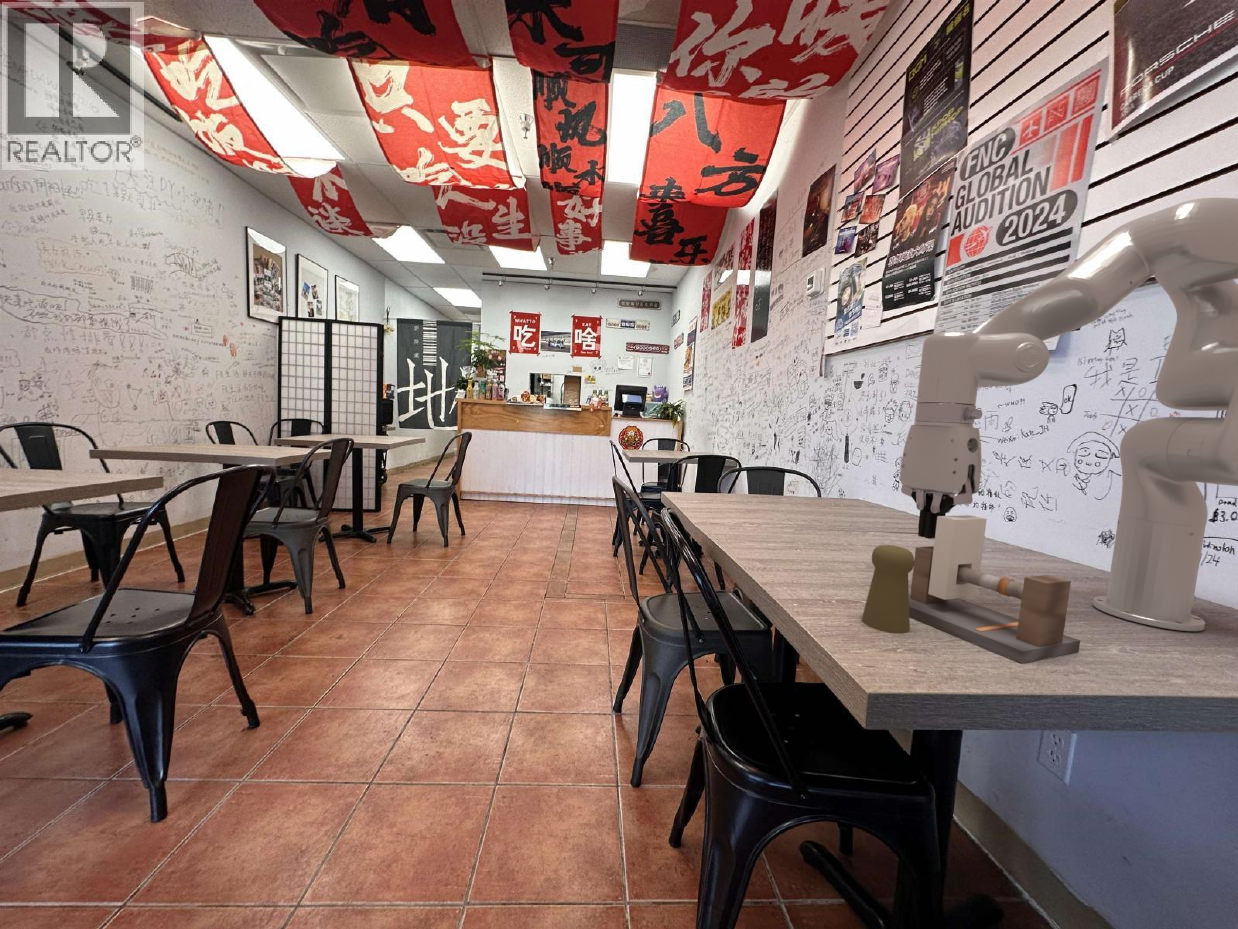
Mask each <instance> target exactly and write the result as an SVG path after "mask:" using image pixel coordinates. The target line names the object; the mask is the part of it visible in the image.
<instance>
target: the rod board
mask: <svg viewBox="0 0 1238 929" xmlns="http://www.w3.org/2000/svg"><path fill="white" fill-rule="evenodd" d="M914 550H915V553H914V566H913V569H912V577H911V588H910V593H909V618H911V619H913V620H915V619H916V621H918V622H920V623H923V624H925V625H927V626H931V627H932V626H933V627H932V628H935V629H937V630H940V631H942V630H943V632H945V633H947V634H949V633H950V634H949V635H952V636H954V637H956V638H959V637H960V638H959V639H961V640H963V641H966V640H967V641H966V642H968V641H969V643H971V644H973V643H975V644H974V645H976V644H977V645H976V646H978V647H981V648H982V649H985V650H987V651H989V652H993V653H995V654H998V655H1001V656H1002V655H1003V656H1002V657H1005V658H1007V657H1009V658H1010V659H1009V658H1008V659H1009V660H1012V661H1013V662H1017V661H1018V662H1017V663H1019V662H1020V663H1019V664H1025V662H1026V663H1031V662H1036V661H1040V660H1045V658H1046V659H1049V657H1051V658H1054V657H1059V655H1060V656H1065V655H1068V654H1074V653H1079V652H1080V647H1081V639H1078V638H1075V637H1072V636H1068V635H1066V634H1064V633H1065V626H1066V621H1067V620H1066V619H1067V612H1068V604H1069V599H1070V598H1069V597H1070V591H1071V583H1072V580H1069V579H1066V578H1062V577H1058V576H1054V575H1050V574H1042V575H1035V576H1034V575H1033V576H1025V577H1024V579H1023V583H1021V582H1017V581H1016V580H1014V579H1012V578H1008V577H1005V576H1003V577H1000V576H996V575H993V574H991V573H986V572H982V571H981V570H980V571H976V570H973V569H969V568H966V567H963V566H959V565H958V571H957V579H958V580H961V581H964V582H967V583H970V584H974V585H977V586H978V587H979V588H984V589H987V590H991V591H993V592H995V593H996V592H997V593H998V594H1000V595H1002V596H1006V597H1010V598H1011V597H1013V598H1016V599H1019V600H1021V602H1020V607H1019V608H1020V609H1019V616H1018V618H1016V617H1014V616H1011V615H1008V614H1005V613H1003V612H1000V611H997V610H994V609H990V608H988V607H984V606H982V605H980V604H977V603H973V602H970V601H967V600H964V599H963V598H956V599H947V600H944V599H941V598H938V597H935V596H933V595H930V594H928V592H929V583H930V575H931V567H932V558H933V550H934V545H933V546H931V545H930V546H917V547H915V549H914ZM1029 661H1030V662H1029Z"/></svg>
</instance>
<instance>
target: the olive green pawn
mask: <svg viewBox="0 0 1238 929" xmlns="http://www.w3.org/2000/svg"><path fill="white" fill-rule="evenodd" d="M914 559H915V555H913V553H912V551H911V550H909V549H907V548H905V547H902V546H897V545H890V544H881V545H878V546H876V547H875V548H874V549H873V551H872V553H871V563H872V565H873V567H874V571H873V575H872V578H871V582H870V586H869V590H868V594H867V597H866V601H865V605H864V608H863V613H862V617H861V621H862V623H863V624H865V625H866V626H868V627H870V628H873V629H875V630H878V631H882V632H885V633H891V634H905V633H909V632H910V630H911V626H910V624H911V622H910V617H909V598H910V593H909V589H910V588H909V573H910V572H912V571H913V568H914Z"/></svg>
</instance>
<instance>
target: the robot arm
mask: <svg viewBox="0 0 1238 929" xmlns="http://www.w3.org/2000/svg"><path fill="white" fill-rule="evenodd" d="M1153 276H1154V278H1155V280H1156V281H1157V283H1158V284H1159V285H1160V286H1161V287H1162V289H1163V290H1164V291H1165V292H1166V295H1168V297H1169V298H1170V300H1171V302H1172V304H1173V306H1174V309H1175V313H1176V323H1175V327H1174V331H1173V334H1172V337H1171V340H1170V342H1169V344H1168V348H1167V350H1166V354H1165V356H1164V359H1163V362H1162V365H1161V367H1160V371H1159V373H1158V376H1157V381H1156V383H1155V390H1154V392H1155V398H1156V400H1158V402H1159V403H1160V404H1161V405H1162V406H1165V407H1167V408H1169V409H1173V410H1179V411H1180V410H1181V411H1189V412H1190V411H1193V412H1195V411H1196V412H1197V411H1204V412H1205V411H1213V412H1214V411H1216V412H1218V411H1219V412H1220V411H1226V414H1225V416H1224V417H1205V416H1204V417H1203V416H1165V417H1164V416H1163V417H1156V418H1150V419H1146V420H1143V421H1139V422H1138V423H1135V424H1134V425H1133V426H1131V427H1130V428H1128V429H1127V431H1126V432H1125V433H1124V435H1123V436H1122V439H1121V442H1120V446H1119V457H1120V465H1121V474H1122V477H1121V478H1122V483H1121V484H1122V486H1121V498H1120V507H1119V512H1118V518H1117V524H1116V531H1115V538H1114V545H1113V552H1112V559H1111V565H1110V566H1111V567H1110V572H1109V578H1108V585H1107V592H1106V595H1098V596H1095V597H1093V599H1092V605H1093V606H1094V608H1096V609H1097V610H1100V611H1101V612H1104V613H1105V614H1109V615H1112V616H1114V617H1117V618H1120V619H1124V620H1127V621H1130V622H1134V623H1138V624H1142V625H1146V626H1151V627H1156V628H1161V629H1168V630H1174V631H1180V632H1181V631H1184V632H1201V631H1203V630H1205V628H1206V627H1205V626H1206V621H1205V620H1204V619H1202V618H1201V617H1199V616H1197V615H1194V614H1192V609H1193V605H1194V602H1195V601H1196V596H1195V593H1196V587H1197V582H1198V575H1199V568H1200V563H1201V562H1200V561H1201V557H1202V551H1203V544H1204V538H1205V532H1206V526H1207V523H1208V522H1207V521H1208V505H1207V503H1206V502H1207V501H1206V499H1205V497H1204V495H1203V493H1202V491H1201V489H1200V487H1199V485H1198V483H1202V484H1203V483H1204V484H1211V485H1222V486H1235V487H1238V283H1237V282H1236V281H1235V280H1236V279H1238V198H1235V197H1203V198H1202V197H1200V198H1196V199H1189V200H1187V201H1183V202H1180V203H1178V204H1175V205H1172V206H1169V207H1167V208H1164V209H1161V210H1157V211H1155V212H1153V213H1149V214H1145V215H1143V216H1141V217H1137V218H1135V219H1132V220H1130V221H1127V222H1126V223H1124V224H1121V225H1119V227H1117V228H1115V229H1114V230H1112V231H1111V232H1110V233H1108V234H1107V235H1106V236H1105V237H1103V238H1102V239H1101V240H1100V241H1098V242H1097V243H1095V245H1094V246H1092V247H1091V248H1090V249H1089V250H1087V251H1086V252H1085V253H1084V254H1082V255H1081V256H1080V257H1079V258H1077V259H1076V260H1074V262H1073V263H1072V264H1070V265H1069V266H1068V267H1066V268H1065V269H1064V270H1063V271H1062V272H1060V273H1059V274H1058V275H1057V276H1055V277H1054V278H1052V279H1051V280H1050V281H1048V282H1047V283H1045V284H1043V285H1041V286H1040V287H1037V288H1036V289H1035V290H1033V291H1032V292H1030V293H1028V294H1027V295H1025V296H1024V297H1022V298H1021V299H1019V300H1017V301H1016V302H1014V303H1012V304H1010V305H1009V306H1007V307H1006V308H1004V309H1002V310H1000V311H998V312H997V313H996V314H994V315H993V316H991V317H990V318H988V319H986V320H985V321H984V322H982V323H980V324H979V325H978V326H976V328H974V329H973V330H971V331H964V330H961V331H960V330H953V331H951V330H950V331H941V332H935V333H932V334H930V335H929V336H927V337H926V338H925V340H924V342H923V345H922V352H921V361H920V363H921V364H920V370H919V377H918V389H917V397H916V405H915V415H914V424H911V425H910V427H909V429H908V433H907V436H906V440H905V443H904V447H903V453H902V456H901V457H902V459H901V462H900V463H901V464H900V473H899V480H900V483H901V489H900V492H901V493H902V494H903V495H906V496H908V497H910V498H912V500H913V501H914V502H915V505H916V506H915V507H916V509H917V510H918V511H919V519H918V532H917V536H918V537H919V538H920V537H921V538H925V539H928V540H929V539H930V540H933V539H934V540H935V533H936V525H937V516H947V515H946V514H949V513H950V512H951V510H952V509H953V508H954V507H956V506H958V505H969V504H970V505H971V504H972V503H973V495H974V494H977V493H978V492H979V490H980V486H981V478H982V475H981V474H982V443H981V442H982V441H981V434H980V428H979V427H974V424H975V420H980V419H982V417H983V411H982V409H977V406H976V404H977V396H978V388H990V387H1010V386H1012V387H1013V386H1018V385H1023V384H1026V383H1028V382H1031V381H1033V380H1035V379H1037V378H1038V377H1040V375H1042V374H1043V372H1044V371H1045V370H1046V369H1047V367H1048V365H1049V361H1050V351H1049V348H1048V347H1047V344H1046V343H1045V342H1044V341H1047V340H1049V339H1052V338H1055V337H1058V336H1061V335H1064V334H1068V333H1071V332H1074V331H1075V330H1078V329H1080V328H1083V327H1084V326H1087V325H1089V324H1091V323H1093V322H1095V321H1097V320H1099V319H1100V318H1102V317H1104V315H1105V314H1108V313H1109V311H1111V310H1112V309H1113V308H1114V307H1115V306H1117V305H1118V304H1119V303H1120V302H1121V301H1122V300H1124V299H1125V298H1126V297H1128V296H1129V295H1130V294H1132V293H1133V292H1134V291H1135V290H1136V289H1137V288H1139V287H1140V286H1141V285H1142V284H1144V283H1145V282H1146V281H1147V280H1149V279H1150V278H1151V277H1153Z"/></svg>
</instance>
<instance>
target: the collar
mask: <svg viewBox="0 0 1238 929" xmlns="http://www.w3.org/2000/svg"><path fill="white" fill-rule="evenodd" d="M986 526H987V518H985V517H979V516H974V515H967V514H966V515H945V516H937V525H936V533H935V539H934V543H933V546H934V550H933V558H932V567H931V575H930V583H929V592H928V594H930V595H933V596H935V597H938V598H941V599H944V600H947V599H956V598H959V599H964V598H970V597H977V596H978V589H979V586H977V585H974V584H970V583H967V582H964V581H961V580H958V579H957V571H958V565H959V566H963V567H966V568H969V569H973V570H976V571H980V572H981V567H982V566H981V565H982V560H983V559H982V557H983V550H984V542H985V534H986V528H987V527H986Z"/></svg>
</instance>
